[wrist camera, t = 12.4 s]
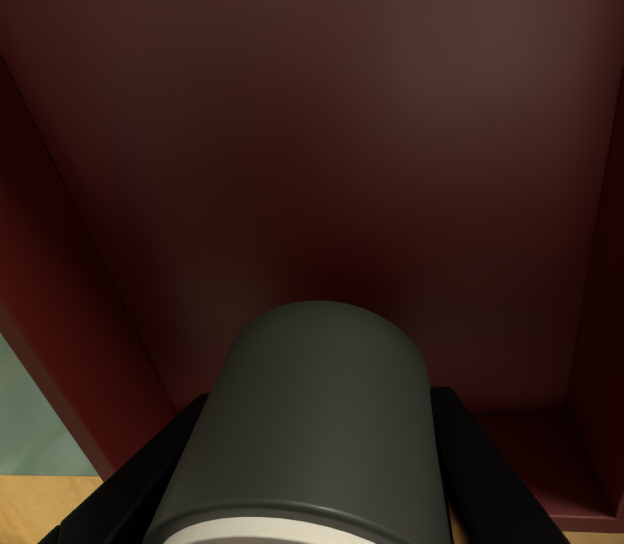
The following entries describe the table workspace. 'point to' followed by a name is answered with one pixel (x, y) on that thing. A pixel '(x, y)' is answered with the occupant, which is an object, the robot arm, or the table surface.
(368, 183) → the sushi box
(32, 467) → the plate
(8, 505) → the table surface
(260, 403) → the cylinder
